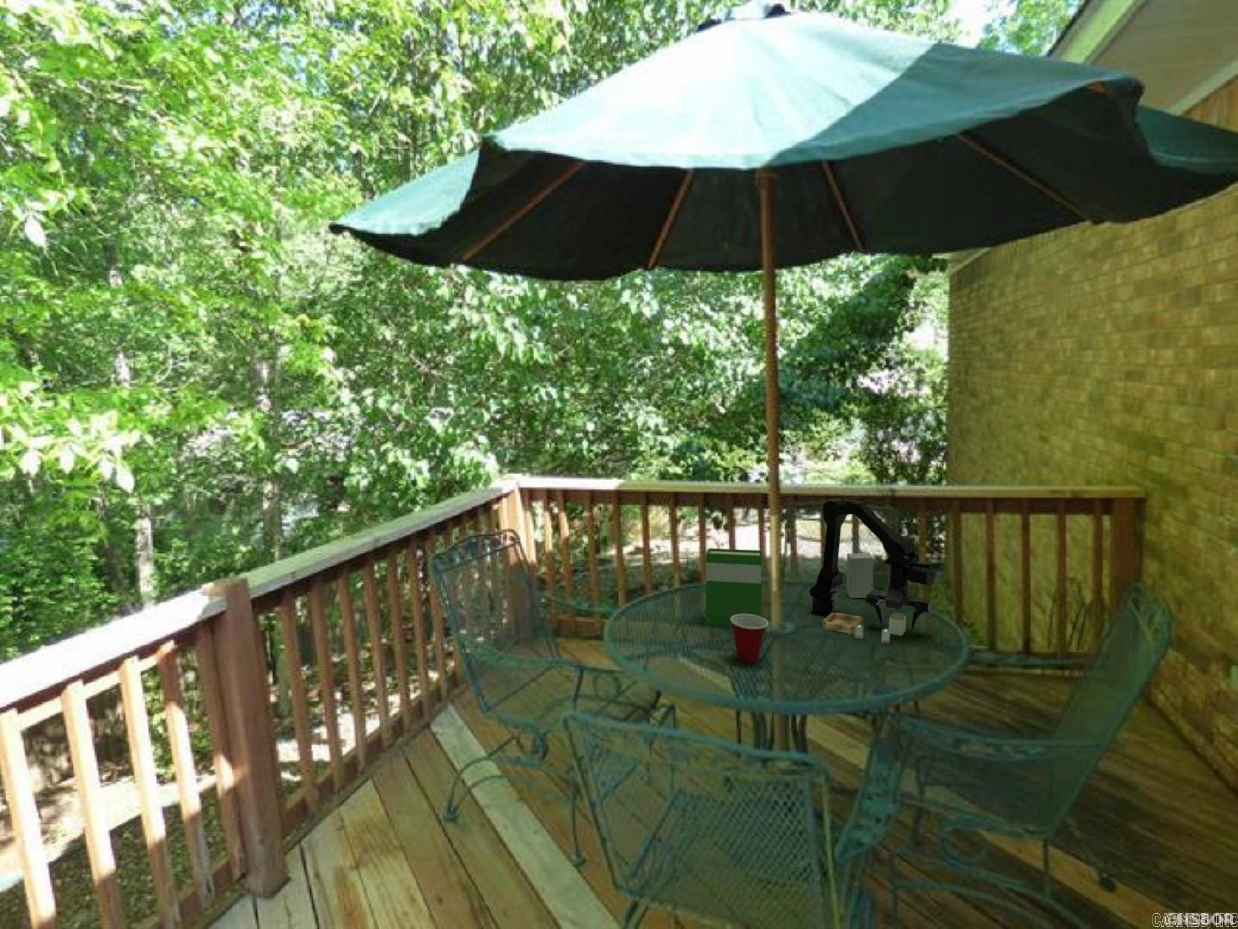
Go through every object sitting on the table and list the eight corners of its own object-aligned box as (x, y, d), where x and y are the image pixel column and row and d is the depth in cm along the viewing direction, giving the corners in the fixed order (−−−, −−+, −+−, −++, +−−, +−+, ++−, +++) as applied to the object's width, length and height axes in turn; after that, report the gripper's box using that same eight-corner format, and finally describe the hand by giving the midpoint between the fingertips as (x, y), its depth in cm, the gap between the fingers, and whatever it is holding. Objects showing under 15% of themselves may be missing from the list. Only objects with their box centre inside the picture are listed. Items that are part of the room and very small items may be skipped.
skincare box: (868, 594, 281) (870, 552, 279) (873, 600, 274) (874, 557, 272) (845, 593, 281) (846, 551, 279) (849, 599, 274) (850, 556, 272)
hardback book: (761, 621, 253) (762, 550, 250) (760, 628, 246) (761, 556, 243) (708, 617, 257) (708, 548, 254) (705, 625, 249) (706, 553, 246)
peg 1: (854, 638, 236) (854, 625, 236) (856, 635, 238) (856, 623, 238) (861, 639, 235) (862, 627, 234) (863, 637, 237) (864, 624, 236)
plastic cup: (759, 669, 213) (760, 628, 211) (723, 661, 218) (724, 621, 217) (773, 656, 222) (774, 617, 220) (738, 649, 228) (739, 611, 226)
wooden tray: (821, 629, 244) (821, 622, 244) (832, 619, 254) (832, 612, 253) (854, 635, 238) (854, 627, 238) (863, 624, 248) (864, 617, 248)
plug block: (888, 633, 240) (889, 615, 239) (892, 628, 244) (892, 610, 243) (901, 635, 238) (902, 617, 237) (905, 631, 242) (906, 612, 241)
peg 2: (880, 642, 232) (881, 630, 231) (882, 640, 234) (882, 627, 233) (888, 644, 231) (889, 631, 230) (890, 641, 233) (891, 629, 232)
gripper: (862, 581, 237) (860, 629, 239) (925, 590, 227) (923, 640, 229) (871, 573, 246) (869, 619, 248) (932, 581, 236) (930, 629, 238)
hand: (897, 627), depth 241 cm, fingers open, 9 cm apart
